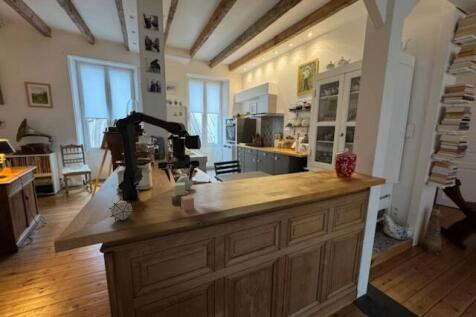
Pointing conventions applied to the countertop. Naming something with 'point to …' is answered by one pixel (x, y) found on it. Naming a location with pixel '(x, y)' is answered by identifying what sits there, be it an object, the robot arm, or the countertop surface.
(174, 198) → the walnut base
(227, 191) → the countertop surface
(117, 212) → the game die
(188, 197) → the terracotta block
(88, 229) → the countertop surface
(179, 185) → the sage block
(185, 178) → the die
